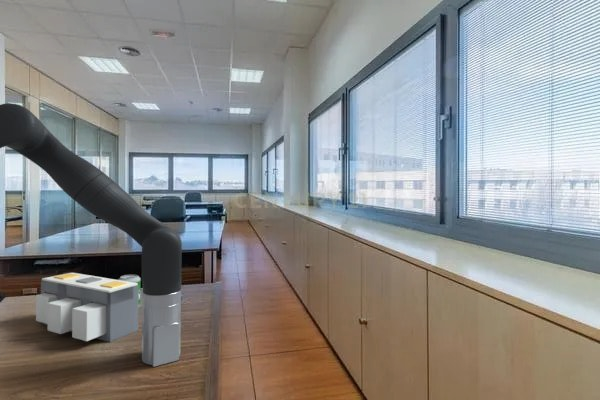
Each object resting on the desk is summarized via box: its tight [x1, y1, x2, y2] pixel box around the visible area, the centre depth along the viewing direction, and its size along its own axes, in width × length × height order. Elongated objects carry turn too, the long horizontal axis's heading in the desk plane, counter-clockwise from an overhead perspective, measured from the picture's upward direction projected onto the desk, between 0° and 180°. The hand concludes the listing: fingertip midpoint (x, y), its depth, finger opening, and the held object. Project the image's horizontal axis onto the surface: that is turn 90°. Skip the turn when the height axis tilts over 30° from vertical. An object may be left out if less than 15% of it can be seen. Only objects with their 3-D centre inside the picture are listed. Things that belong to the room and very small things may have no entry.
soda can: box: [117, 274, 142, 308], centre depth 123 cm, size 8×8×12 cm
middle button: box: [47, 297, 81, 335], centre depth 102 cm, size 9×6×8 cm, turn 157°
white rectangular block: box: [35, 293, 58, 324], centre depth 109 cm, size 9×6×8 cm, turn 157°
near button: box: [71, 302, 107, 342], centre depth 97 cm, size 9×6×8 cm, turn 157°
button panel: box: [40, 272, 139, 343], centre depth 107 cm, size 10×32×15 cm, turn 67°
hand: (1, 299), depth 88 cm, fingers closed
